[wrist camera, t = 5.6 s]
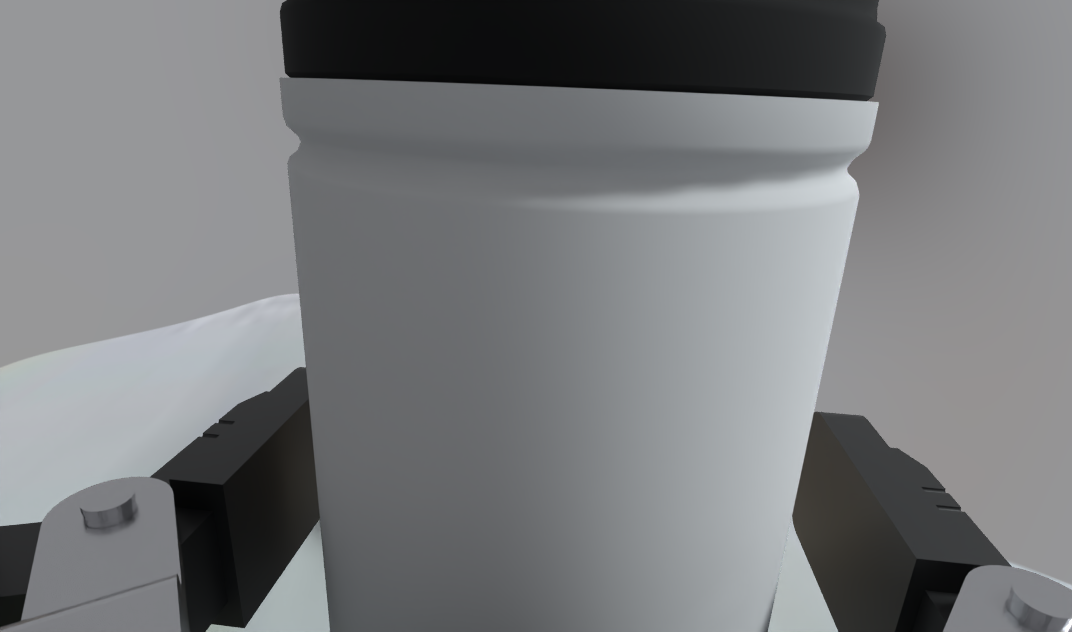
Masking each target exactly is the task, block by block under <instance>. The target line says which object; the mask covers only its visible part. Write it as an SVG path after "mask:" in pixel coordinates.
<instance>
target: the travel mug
mask: <svg viewBox="0 0 1072 632" xmlns="http://www.w3.org/2000/svg"><path fill="white" fill-rule="evenodd" d="M878 2H879V0H287V1H285V2H283V3H282V6H281V10H280V19H281V31H282V43H283V53H284V65H285V73H286V74H287V75H288V76H289V77H290V78H280V88H281V99H282V110H283V117H284V120H285V123H286V125H287V126H288V127H289V128H290V129H291V130H292V131H293V132H294V133H296V134H297V135H298V137H299V139H300V141H301V143H300V146H299V148H298V150H297V151H296V152H295V153H294V154H292V155H291V156H290V158H289V161H288V175H289V186H290V197H291V207H292V219H293V229H294V240H295V252H296V262H297V273H298V284H299V295H300V306H301V317H302V328H303V339H304V350H305V361H306V372H307V383H308V394H309V405H310V416H311V426H312V437H313V448H314V459H315V470H316V481H317V492H318V503H319V514H320V525H321V536H322V546H323V557H324V568H325V579H326V590H327V601H328V612H329V623H330V632H768V627H769V622H770V618H771V613H772V608H773V603H774V599H775V594H776V589H777V584H778V580H779V575H780V570H781V566H782V561H783V556H784V551H785V546H786V542H787V537H788V532H789V527H790V523H791V518H792V513H793V508H794V504H795V499H796V494H797V489H798V485H799V480H800V475H801V470H802V466H803V461H804V456H805V451H806V447H807V442H808V437H809V432H810V428H811V423H812V418H813V413H814V408H815V404H816V399H817V394H818V390H819V385H820V380H821V375H822V370H823V366H824V361H825V356H826V352H827V347H828V342H829V337H830V332H831V328H832V323H833V318H834V314H835V309H836V304H837V299H838V295H839V290H840V285H841V280H842V275H843V271H844V266H845V261H846V257H847V252H848V247H849V242H850V238H851V233H852V228H853V223H854V218H855V214H856V209H857V204H858V199H859V191H858V187H857V184H856V181H855V180H854V179H853V178H852V177H851V176H850V175H849V174H848V171H847V168H848V166H849V165H850V163H851V162H852V160H853V159H854V158H856V157H857V156H858V155H860V154H861V153H863V152H864V151H865V150H867V147H868V146H869V144H870V142H871V138H872V133H873V128H874V124H875V119H876V113H877V109H878V105H879V103H878V102H867V100H869V99H870V98H872V97H873V96H874V90H875V86H876V81H877V77H878V72H879V67H880V62H881V57H882V52H883V47H884V43H885V38H886V32H885V27H884V26H883V25H881V24H880V23H878V22H877V7H878Z"/></svg>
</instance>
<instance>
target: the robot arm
mask: <svg viewBox="0 0 1072 632" xmlns="http://www.w3.org/2000/svg"><path fill="white" fill-rule="evenodd" d="M792 518H793V524H794V528H795V531H796V534H797V536H798V538H799V541H800V543H801V545H802V548H803V550H804V552H805V555H806V557H807V559H808V562H809V564H810V566H811V569H812V571H813V573H814V576H815V578H816V580H817V583H818V585H819V587H820V590H821V592H822V594H823V597H824V599H825V601H826V604H827V606H828V608H829V611H830V613H831V615H832V618H833V620H834V622H835V625H836V627H837V629H838V632H1072V590H1071V589H1069V588H1067V587H1065V586H1063V585H1061V584H1059V583H1057V582H1055V581H1053V580H1051V579H1049V578H1046V577H1044V576H1041V575H1038V574H1036V573H1033V572H1029V571H1026V570H1023V569H1019V568H1014V567H1012V566H1011V565H1010V564H1009V563H1008V562H1007V561H1006V559H1005V558H1004V557H1003V556H1002V555H1001V554H1000V552H999V551H998V550H997V549H996V548H995V547H994V546H993V544H992V543H991V542H990V541H989V540H988V538H987V537H986V536H985V535H984V534H983V533H982V531H981V530H980V529H979V528H978V527H977V526H976V524H975V523H974V522H973V521H972V520H971V519H970V517H969V516H968V515H967V514H966V513H965V512H961V507H960V506H959V505H958V504H957V502H956V501H955V500H954V499H953V498H952V496H951V495H950V494H948V493H945V488H944V487H943V486H942V485H941V484H940V482H939V481H938V480H937V479H936V478H935V477H934V476H933V474H932V473H931V472H930V471H929V470H928V468H926V467H925V466H924V465H922V464H920V463H919V462H918V461H916V460H914V459H913V458H911V457H910V456H908V455H907V454H905V453H904V452H902V451H901V450H899V449H898V448H890V447H889V446H888V445H887V444H886V443H885V441H884V440H883V439H882V437H881V436H880V435H879V434H878V432H877V431H876V430H875V429H874V427H873V426H872V425H871V424H870V422H869V421H868V420H867V419H866V418H865V417H864V416H859V415H847V414H836V413H824V412H814V413H813V418H812V423H811V428H810V432H809V437H808V442H807V447H806V451H805V456H804V461H803V466H802V470H801V475H800V480H799V485H798V489H797V494H796V499H795V504H794V508H793V513H792ZM319 519H320V514H319V503H318V492H317V481H316V470H315V459H314V448H313V437H312V426H311V416H310V405H309V394H308V383H307V372H306V368H304V367H299V368H297V369H295V370H294V371H293V372H292V373H291V374H289V375H288V376H287V377H286V378H285V379H284V380H283V381H281V382H280V383H279V384H278V385H277V386H276V387H275V388H273V389H272V390H271V391H270V392H267V391H266V392H263V393H261V394H259V395H257V396H255V397H252V398H250V399H248V400H246V401H244V402H241V403H239V404H238V405H236V406H235V407H234V408H233V409H232V410H230V411H229V412H228V413H227V414H226V415H224V416H223V417H222V418H221V419H219V423H215V424H213V425H212V426H211V427H210V428H209V429H207V430H206V431H205V432H204V433H203V436H202V437H198V438H197V439H195V440H194V441H193V442H192V443H191V444H189V445H188V446H187V447H186V448H184V449H183V450H182V451H181V452H180V453H178V454H177V455H176V456H175V457H174V458H172V459H171V460H170V461H169V462H168V463H166V464H165V465H164V466H163V467H162V468H160V469H159V470H158V471H157V472H155V473H154V474H153V475H152V476H151V477H129V478H121V479H115V480H111V481H107V482H103V483H100V484H97V485H94V486H91V487H88V488H86V489H83V490H81V491H79V492H77V493H75V494H73V495H71V496H69V497H68V498H66V499H64V500H63V501H61V502H60V503H59V504H57V505H56V506H55V507H54V508H53V509H52V510H51V511H50V512H49V513H48V514H47V515H46V516H45V518H44V519H43V521H42V522H38V523H28V524H19V525H9V526H0V632H206V630H207V629H208V628H209V626H210V625H211V624H216V625H224V626H232V627H240V628H245V627H246V625H247V624H248V622H249V621H250V619H251V618H252V616H253V615H254V613H255V612H256V611H257V609H258V608H259V606H260V605H261V603H262V602H263V600H264V599H265V597H266V596H267V595H268V593H269V592H270V590H271V589H272V587H273V586H274V584H275V583H276V581H277V580H278V578H279V577H280V576H281V574H282V573H283V571H284V570H285V568H286V567H287V565H288V564H289V562H290V561H291V560H292V558H293V557H294V555H295V554H296V552H297V551H298V549H299V548H300V546H301V545H302V544H303V542H304V541H305V539H306V538H307V536H308V535H309V533H310V532H311V530H312V529H313V528H314V526H315V525H316V523H317V522H318V520H319Z"/></svg>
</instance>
